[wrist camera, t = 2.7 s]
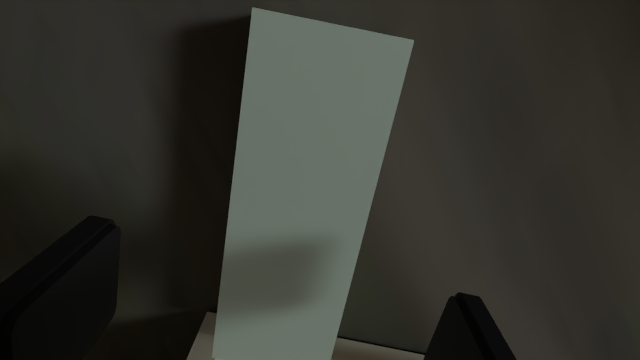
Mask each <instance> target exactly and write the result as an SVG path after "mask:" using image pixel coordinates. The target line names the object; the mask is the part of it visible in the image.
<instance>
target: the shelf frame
mask: <svg viewBox="0 0 640 360" xmlns="http://www.w3.org/2000/svg"><path fill="white" fill-rule="evenodd" d="M216 317H217V313H212V312H207V313H206V316H205V318H204V320H203V323H202V325H201V327H200V330H199V332H198V334H197V336H196V339H195V341H194V343H193V346H192V348H191V350H190V353H189V355H188V357H187V360H223V359H217V358H212V352H213V343H214V334H215V326H216ZM424 356H425V355H422V354H417V353H412V352H407V351H402V350H397V349H392V348H387V347H382V346H377V345H372V344H367V343H362V342H357V341H352V340H347V339H342V338H337V337H336V341H335V345H334V349H333V353H332V357H331V360H423V359H424Z"/></svg>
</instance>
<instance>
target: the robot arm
mask: <svg viewBox="0 0 640 360" xmlns="http://www.w3.org/2000/svg"><path fill="white" fill-rule="evenodd" d="M120 234H121V231H120V227H118V226H115V222H114V221H113V220H111V219H106V218H101V217H97V216H89V217H87V218H86V219H84V220H83V221H82V222H81V223H79V224H78V225H77V226H75V227H74V228H73V229H71V230H70V231H69V232H67V233H66V234H65V235H64V236H62V237H61V238H60V239H58V240H57V241H56V242H54V243H53V244H52V245H50V246H49V247H48V248H47V249H45V250H44V251H43V252H41V253H40V254H39V255H37V256H36V257H35V258H34V259H32V260H31V261H30V262H28V263H27V264H26V265H24V266H23V267H22V268H20V269H19V270H18V271H17V272H15V273H14V274H13V275H11V276H10V277H9V278H7V279H6V280H5V281H3V282H2V283H1V284H0V360H81V359H82V358H83V357H84V355H85V354H86V353H87V351H88V350H89V349H90V347H91V346H92V345H93V343H94V342H95V341H96V339H97V338H98V337H99V335H100V334H101V333H102V331H103V330H104V329H105V328H106V326H107V325H108V324H109V322H110V321H111V319H112V318H113V316H114V313H115V310H116V303H117V286H118V268H119V251H120ZM423 360H516V358H515V356H514V355H513V353H512V351H511V349H510V348H509V346H508V344H507V343H506V341H505V339H504V337H503V336H502V334H501V332H500V330H499V329H498V327H497V325H496V324H495V322H494V320H493V318H492V317H491V315H490V313H489V311H488V310H487V308H486V306H485V305H484V303H483V301H482V299H481V298H480V297H478V296H474V295H469V294H465V293H457V294H456V295H455V297H454V296H451V297H450V298H449V299H448V301H447V304H446V306H445V308H444V311H443V313H442V316H441V318H440V320H439V323H438V325H437V328H436V330H435V332H434V335H433V337H432V340H431V342H430V344H429V347H428V349H427V352H426V354H425V356H424V359H423Z"/></svg>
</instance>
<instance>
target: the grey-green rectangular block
mask: <svg viewBox="0 0 640 360" xmlns="http://www.w3.org/2000/svg"><path fill="white" fill-rule="evenodd" d="M413 43H414V40H410V39H405V38H400V37H395V36H390V35H385V34H380V33H375V32H371V31H366V30H361V29H356V28H351V27H346V26H341V25H336V24H331V23H326V22H322V21H317V20H312V19H307V18H302V17H297V16H292V15H287V14H282V13H278V12H273V11H268V10H263V9H258V8H253V7H252V15H251V23H250V32H249V41H248V49H247V58H246V67H245V75H244V84H243V93H242V101H241V110H240V119H239V127H238V136H237V144H236V153H235V162H234V170H233V179H232V188H231V196H230V205H229V214H228V222H227V231H226V239H225V248H224V257H223V265H222V274H221V283H220V291H219V300H218V309H217V317H216V326H215V334H214V343H213V352H212V358H217V359H223V360H331V357H332V353H333V349H334V345H335V341H336V337H337V334H338V330H339V326H340V322H341V318H342V314H343V311H344V307H345V303H346V299H347V295H348V292H349V288H350V284H351V280H352V276H353V272H354V269H355V265H356V261H357V257H358V253H359V250H360V246H361V242H362V238H363V234H364V230H365V227H366V223H367V219H368V215H369V211H370V207H371V204H372V200H373V196H374V192H375V188H376V185H377V181H378V177H379V173H380V169H381V165H382V162H383V158H384V154H385V150H386V146H387V142H388V139H389V135H390V131H391V127H392V123H393V120H394V116H395V112H396V108H397V104H398V100H399V97H400V93H401V89H402V85H403V81H404V77H405V74H406V70H407V66H408V62H409V58H410V55H411V51H412V47H413Z"/></svg>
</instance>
